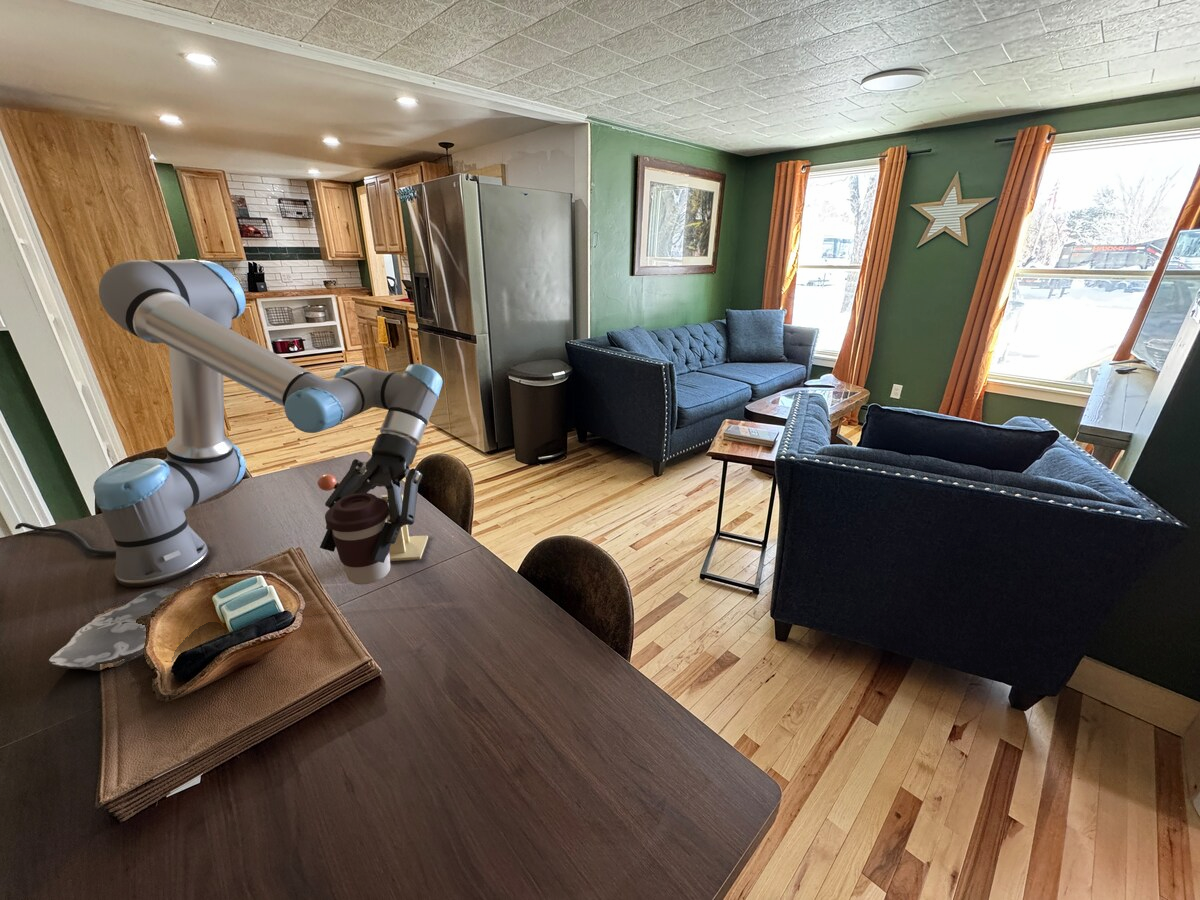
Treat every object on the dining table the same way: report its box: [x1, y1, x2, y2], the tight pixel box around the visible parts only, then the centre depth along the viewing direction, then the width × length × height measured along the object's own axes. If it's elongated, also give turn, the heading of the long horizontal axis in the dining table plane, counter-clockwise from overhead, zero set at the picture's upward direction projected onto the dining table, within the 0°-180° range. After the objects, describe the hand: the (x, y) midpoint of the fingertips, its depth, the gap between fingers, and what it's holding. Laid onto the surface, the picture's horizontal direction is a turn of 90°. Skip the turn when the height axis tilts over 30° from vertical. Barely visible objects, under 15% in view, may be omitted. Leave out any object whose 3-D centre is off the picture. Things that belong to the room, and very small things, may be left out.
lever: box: [317, 473, 388, 503], centre depth 105 cm, size 17×4×4 cm, turn 98°
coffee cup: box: [324, 492, 391, 586], centre depth 84 cm, size 10×10×15 cm
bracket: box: [381, 493, 429, 562], centre depth 109 cm, size 12×9×14 cm
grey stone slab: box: [48, 587, 181, 672], centre depth 85 cm, size 20×17×3 cm
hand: (351, 555), depth 82 cm, fingers closed on coffee cup, 10 cm apart
